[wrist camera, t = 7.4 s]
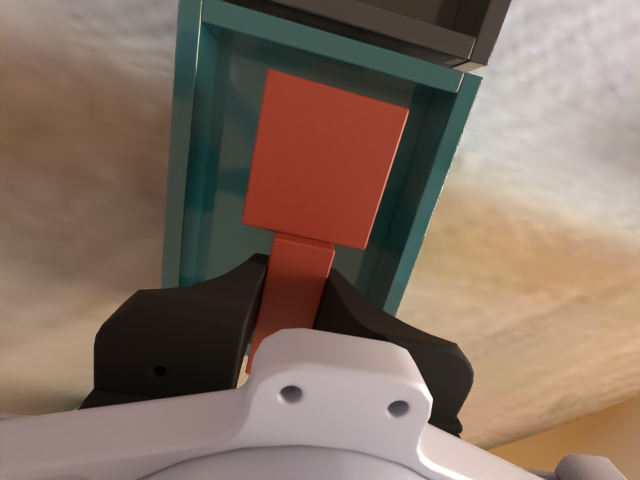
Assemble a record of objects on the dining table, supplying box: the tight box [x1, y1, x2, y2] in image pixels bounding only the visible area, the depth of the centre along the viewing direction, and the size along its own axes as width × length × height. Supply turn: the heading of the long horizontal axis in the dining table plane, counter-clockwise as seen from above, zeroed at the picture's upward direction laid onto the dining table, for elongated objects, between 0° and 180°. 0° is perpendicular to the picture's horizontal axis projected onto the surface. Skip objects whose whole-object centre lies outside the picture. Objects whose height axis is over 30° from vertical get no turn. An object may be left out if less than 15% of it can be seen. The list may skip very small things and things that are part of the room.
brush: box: [241, 69, 409, 374], centre depth 12 cm, size 5×11×3 cm, turn 166°
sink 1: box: [161, 0, 483, 355], centre depth 15 cm, size 12×15×3 cm
